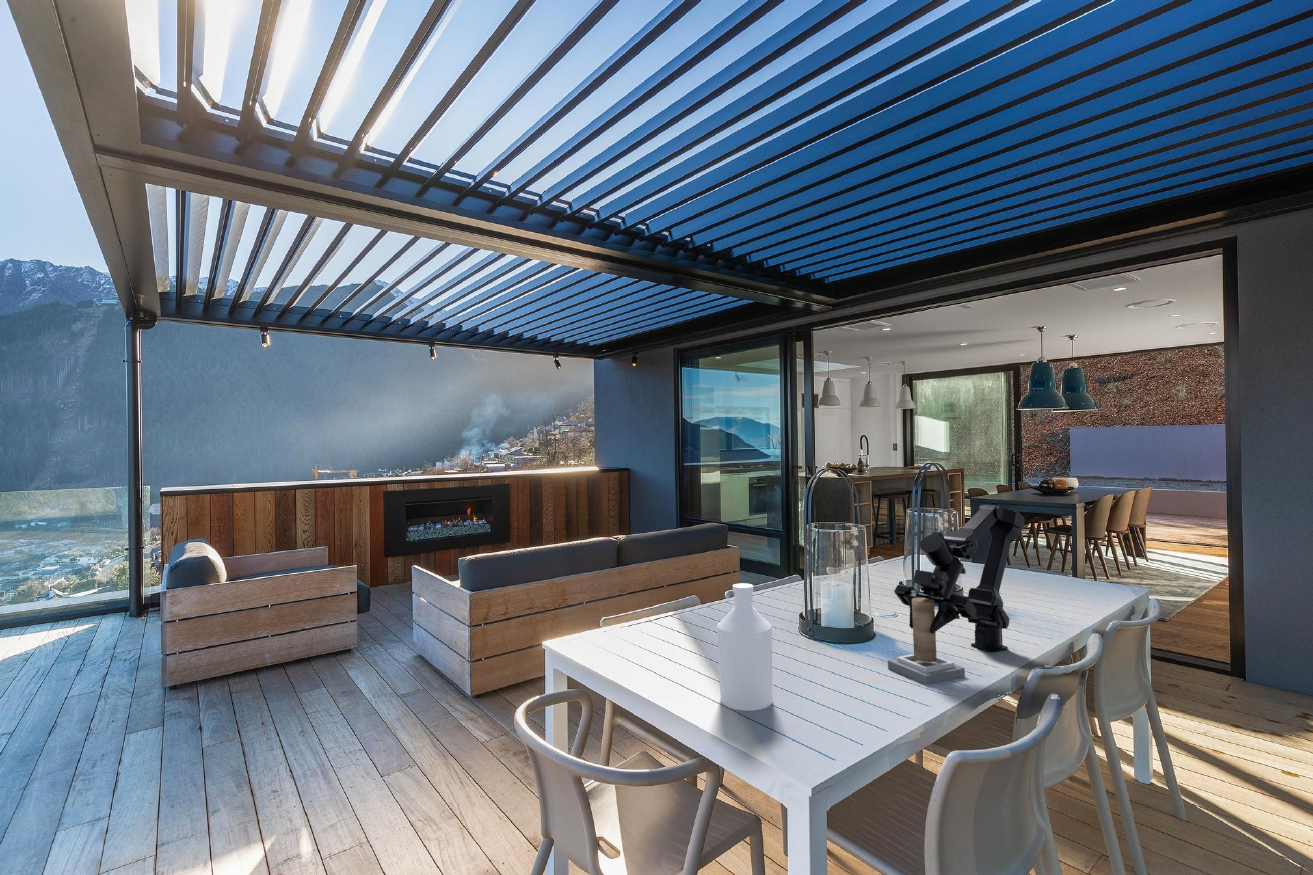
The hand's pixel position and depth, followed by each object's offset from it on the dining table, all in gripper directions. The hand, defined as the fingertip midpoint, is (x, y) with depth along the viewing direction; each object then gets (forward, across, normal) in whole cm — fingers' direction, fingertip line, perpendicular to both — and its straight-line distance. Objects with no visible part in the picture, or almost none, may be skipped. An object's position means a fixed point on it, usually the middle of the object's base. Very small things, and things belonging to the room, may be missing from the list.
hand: (920, 629), depth 146 cm
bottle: (+38, -15, -24) cm, 47 cm away
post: (+4, 0, +6) cm, 7 cm away
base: (+6, 0, +8) cm, 11 cm away
